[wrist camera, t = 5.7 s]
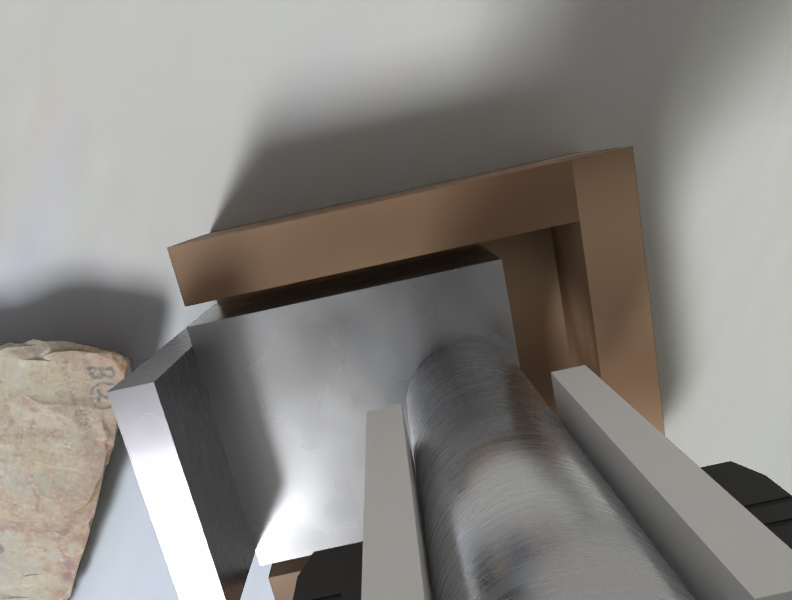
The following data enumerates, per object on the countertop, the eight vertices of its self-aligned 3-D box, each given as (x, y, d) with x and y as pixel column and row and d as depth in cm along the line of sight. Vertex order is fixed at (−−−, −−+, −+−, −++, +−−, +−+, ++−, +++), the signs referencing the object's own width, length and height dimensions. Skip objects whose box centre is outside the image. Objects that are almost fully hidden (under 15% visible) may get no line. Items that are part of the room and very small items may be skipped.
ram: (181, 311, 16) (-985, 1135, 2) (492, 244, 16) (1238, 672, 2) (245, 518, 18) (-222, 1764, 4) (529, 458, 18) (1105, 1501, 4)
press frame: (208, 233, 17) (167, 248, 13) (580, 152, 17) (632, 146, 13) (298, 543, 19) (282, 622, 16) (622, 473, 19) (676, 538, 16)
